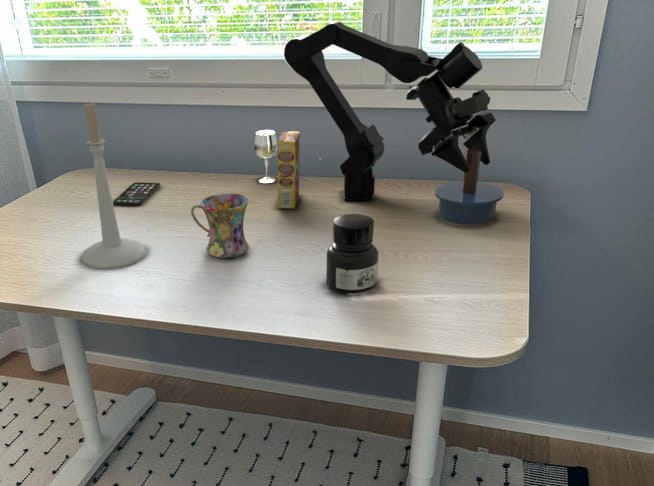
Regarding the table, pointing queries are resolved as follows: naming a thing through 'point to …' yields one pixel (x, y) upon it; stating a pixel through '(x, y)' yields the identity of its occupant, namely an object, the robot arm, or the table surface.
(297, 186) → the candy box
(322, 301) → the table surface
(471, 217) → the tin
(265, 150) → the wineglass
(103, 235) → the candlestick
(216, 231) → the mug
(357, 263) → the ink bottle
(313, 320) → the table surface
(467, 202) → the tin lid
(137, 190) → the smartphone
